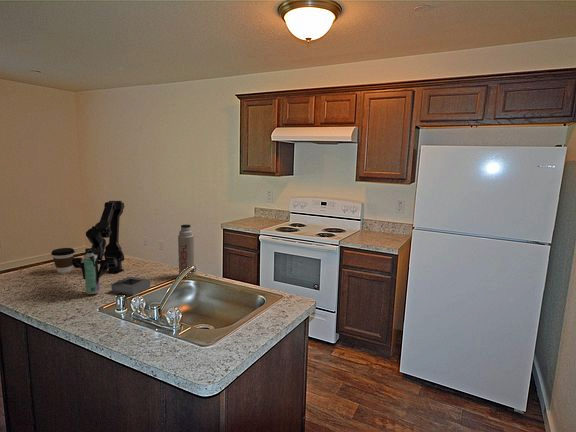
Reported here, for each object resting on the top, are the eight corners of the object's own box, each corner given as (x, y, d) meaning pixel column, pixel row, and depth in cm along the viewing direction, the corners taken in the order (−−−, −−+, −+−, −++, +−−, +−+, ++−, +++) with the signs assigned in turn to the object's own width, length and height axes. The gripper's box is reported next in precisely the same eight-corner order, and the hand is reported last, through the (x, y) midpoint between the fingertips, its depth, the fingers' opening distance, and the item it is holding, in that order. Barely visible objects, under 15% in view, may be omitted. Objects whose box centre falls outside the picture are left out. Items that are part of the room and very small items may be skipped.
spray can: (102, 290, 169) (99, 249, 166) (91, 294, 165) (88, 252, 161) (94, 288, 172) (91, 247, 168) (83, 292, 167) (80, 250, 163)
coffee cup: (49, 271, 198) (47, 250, 196) (70, 267, 206) (69, 246, 204) (57, 276, 191) (55, 253, 189) (79, 271, 200) (78, 249, 198)
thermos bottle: (188, 279, 191) (187, 227, 187) (175, 277, 194) (174, 225, 190) (197, 274, 199) (196, 224, 194) (185, 272, 202) (184, 223, 197)
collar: (130, 284, 182) (129, 276, 182) (150, 287, 179) (149, 279, 178) (111, 292, 171) (111, 284, 170) (132, 296, 167) (132, 287, 167)
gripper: (70, 240, 166) (62, 271, 158) (114, 240, 169) (108, 270, 161) (78, 252, 175) (71, 282, 167) (120, 251, 178) (114, 281, 170)
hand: (91, 279), depth 166 cm, fingers closed on spray can, 5 cm apart
